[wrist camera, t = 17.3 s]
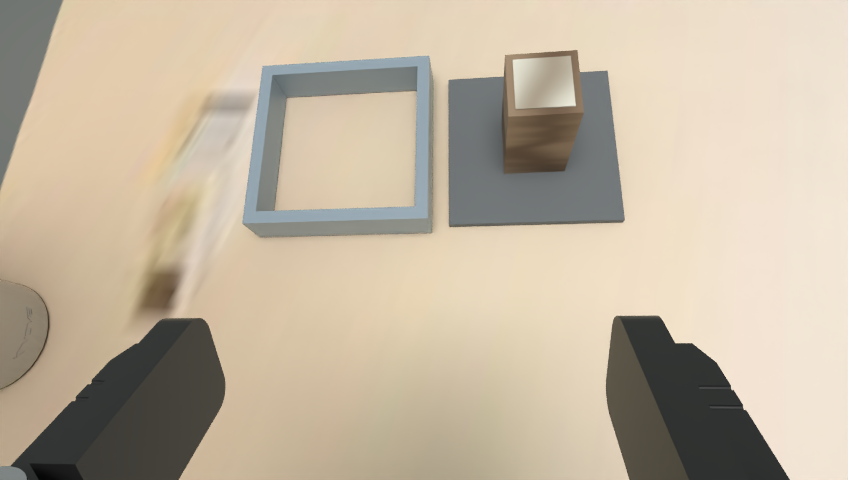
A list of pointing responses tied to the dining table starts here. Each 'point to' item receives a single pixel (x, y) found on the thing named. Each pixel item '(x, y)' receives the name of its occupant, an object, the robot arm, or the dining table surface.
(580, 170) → the rubber mat
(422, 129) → the grey bin
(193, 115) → the dining table surface
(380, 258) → the dining table surface
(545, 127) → the walnut box
